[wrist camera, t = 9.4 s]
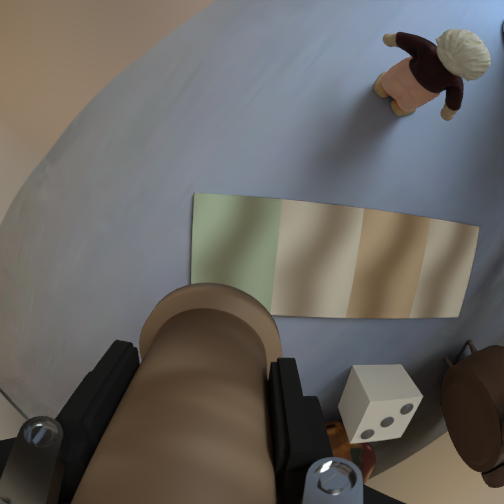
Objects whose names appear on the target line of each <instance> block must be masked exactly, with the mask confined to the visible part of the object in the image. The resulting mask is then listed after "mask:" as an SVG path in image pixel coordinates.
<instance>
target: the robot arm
mask: <svg viewBox="0 0 504 504" xmlns="http://www.w3.org/2000/svg"><path fill="white" fill-rule="evenodd" d="M503 30H504V25H503ZM139 365H140V363H139V355H138V349H137V348H136V347H133V344H132V343H131V342H126V341H120V340H115V341H114V342H113V344H112V345H111V346H110V348H109V349H108V350H107V352H106V353H105V354H104V356H103V357H102V358H101V360H100V361H99V362H98V364H97V365H96V367H95V368H94V369H93V371H91V372H89V373H88V374H87V375H86V376H85V378H84V379H83V381H82V382H81V383H80V385H79V386H78V387H77V389H76V390H75V392H74V393H73V394H72V396H71V397H70V399H69V400H68V402H67V403H66V404H65V406H64V407H63V409H62V410H61V411H60V413H59V414H58V416H57V417H56V419H53V418H50V417H47V416H36V417H33V418H30V419H28V420H27V421H26V422H24V423H23V425H22V426H21V428H20V430H19V432H18V435H17V437H15V438H11V439H6V440H1V441H0V504H71V502H72V500H73V497H74V495H75V493H76V491H77V489H78V486H79V484H80V482H81V480H82V478H83V476H84V473H85V471H86V469H87V467H88V465H89V463H90V461H91V459H92V457H93V455H94V453H95V451H96V449H97V446H98V444H99V442H100V440H101V438H102V436H103V434H104V432H105V430H106V428H107V426H108V424H109V422H110V421H111V419H112V417H113V415H114V413H115V411H116V409H117V407H118V405H119V403H120V401H121V399H122V397H123V395H124V393H125V392H126V390H127V388H128V386H129V384H130V382H131V380H132V378H133V377H134V375H135V373H136V371H137V369H138V367H139ZM268 389H269V402H270V416H271V429H272V443H273V458H274V472H275V480H276V494H277V504H406V503H403V502H401V501H399V500H396V499H394V498H392V497H389V496H387V495H385V494H383V493H381V492H378V491H376V490H374V489H372V488H370V487H368V486H366V485H364V484H363V477H362V473H361V471H360V470H359V468H358V467H357V466H356V465H355V464H354V463H352V462H351V461H349V460H346V459H344V458H338V457H334V456H333V452H332V448H331V445H330V441H329V437H328V433H327V430H326V426H325V422H324V418H323V415H322V411H321V407H320V404H319V400H318V398H317V397H316V396H303V393H302V388H301V384H300V379H299V374H298V370H297V365H296V361H295V358H277V362H271V364H270V371H269V378H268Z"/></svg>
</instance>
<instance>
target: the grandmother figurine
mask: <svg viewBox="0 0 504 504" xmlns="http://www.w3.org/2000/svg"><path fill="white" fill-rule="evenodd" d="M383 42H384V43H385V45H387V46H389V47H393V46H395V47H399V48H401V49H402V50H404V51H406V52H407V53H408V54H410V55H411V56H412V57H408V58H406V59H404V60H402V61H401V62H399V63H398V64H396V65H394V66H393V67H392V68H390V69H389V70H388V71H387V72H385V73H382V74H380V76H379V77H378V79H377V80H376V82H375V84H374V91H375V92H376V93H377V94H378V95H379V96H380V97H382V98H386V97H388V96H389V95H390V96H391V97H392V98H394V100H393V101H392V102H391V108H392V110H393V112H394V113H395V114H396V115H398V116H404V115H408V114H412V113H414V112H415V110H416V108H418V107H420V106H422V105H424V104H425V103H427V102H429V101H431V100H432V99H434V98H435V97H437V96H438V95H439V94H440V92H442V91H444V90H446V98H445V105H444V108H443V109H442V110H441V117H442V118H443V119H444V120H446V121H449V120H451V119H452V118H453V115H454V114H455V113H456V112H457V110H459V109H460V107H461V102H462V98H463V87H464V85H463V80H462V78H464V79H465V80H467V81H469V80H475V79H478V78H479V77H481V76H482V75H483V74H484V73H485V72H486V71H487V69H489V67H490V64H491V62H490V53H489V51H488V49H487V48H486V46H485V45H484V42H483V41H481V40H480V38H478V37H477V35H476V34H474V33H472V32H470V31H467V30H462V29H449V30H447V31H445V32H444V33H443V34H442V35H441V36H440V37H439V39H437V38H436V42H437V44H438V46H436V45H435V44H434V43H432V42H430V41H429V40H427V39H425V38H422V37H420V36H417V35H413V34H408V33H404V32H398V33H397V34H385V35H384V36H383Z"/></svg>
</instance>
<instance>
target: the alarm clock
mask: <svg viewBox="0 0 504 504" xmlns="http://www.w3.org/2000/svg"><path fill="white" fill-rule="evenodd" d="M467 344H468V345H469V346H470V349H471V352H472V354H471V355H469V356H467V357H465V358H464V359H462V360H461V361H460V362H458V363H457V364H455V365H453V364H452V363H451V362H450V360H449V357H446V358H445V361H446V362H447V364H448V367H449V369H448V370H447V371H446V373H445V375H444V377H443V381H442V387H441V399H442V401H441V403H440V404H441V405H442V408H443V414H444V418H445V422H446V426H447V429H448V432H449V435H450V438H451V440H452V442H453V444H454V446H455V448H456V450H457V452H458V454H459V455H460V456H461V458H462V459H463V461H464V462H465V463H466V464H467V465H468V466H469V467H470V468H472V469H473V470H475V471H477V472H482V473H481V475H482V478H483V480H484V481H485V483H486V484H487V485H488V486H489V487H492V488H499V487H502V486H504V347H503V346H499V345H492V346H489V347H486V348H484V349H482V350H480V351H477V350H476V348H475V347H474V346H473V344H472V341H471V340H469V341H468V342H467Z"/></svg>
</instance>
